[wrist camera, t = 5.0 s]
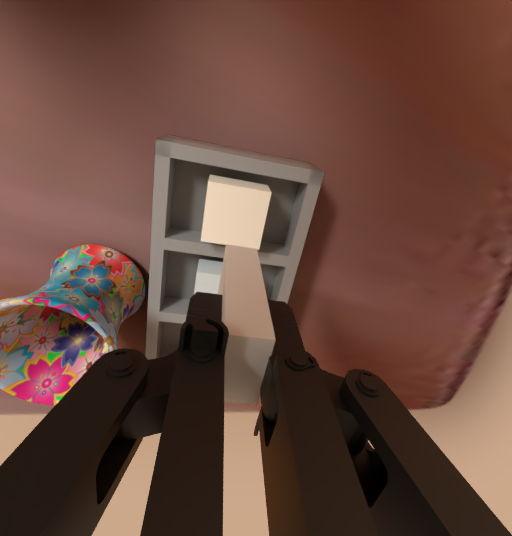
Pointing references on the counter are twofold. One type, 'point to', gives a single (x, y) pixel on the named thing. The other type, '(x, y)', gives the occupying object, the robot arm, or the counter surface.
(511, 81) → the counter surface
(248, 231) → the key
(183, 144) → the grey compartment tray
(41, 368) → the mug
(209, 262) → the key middle
